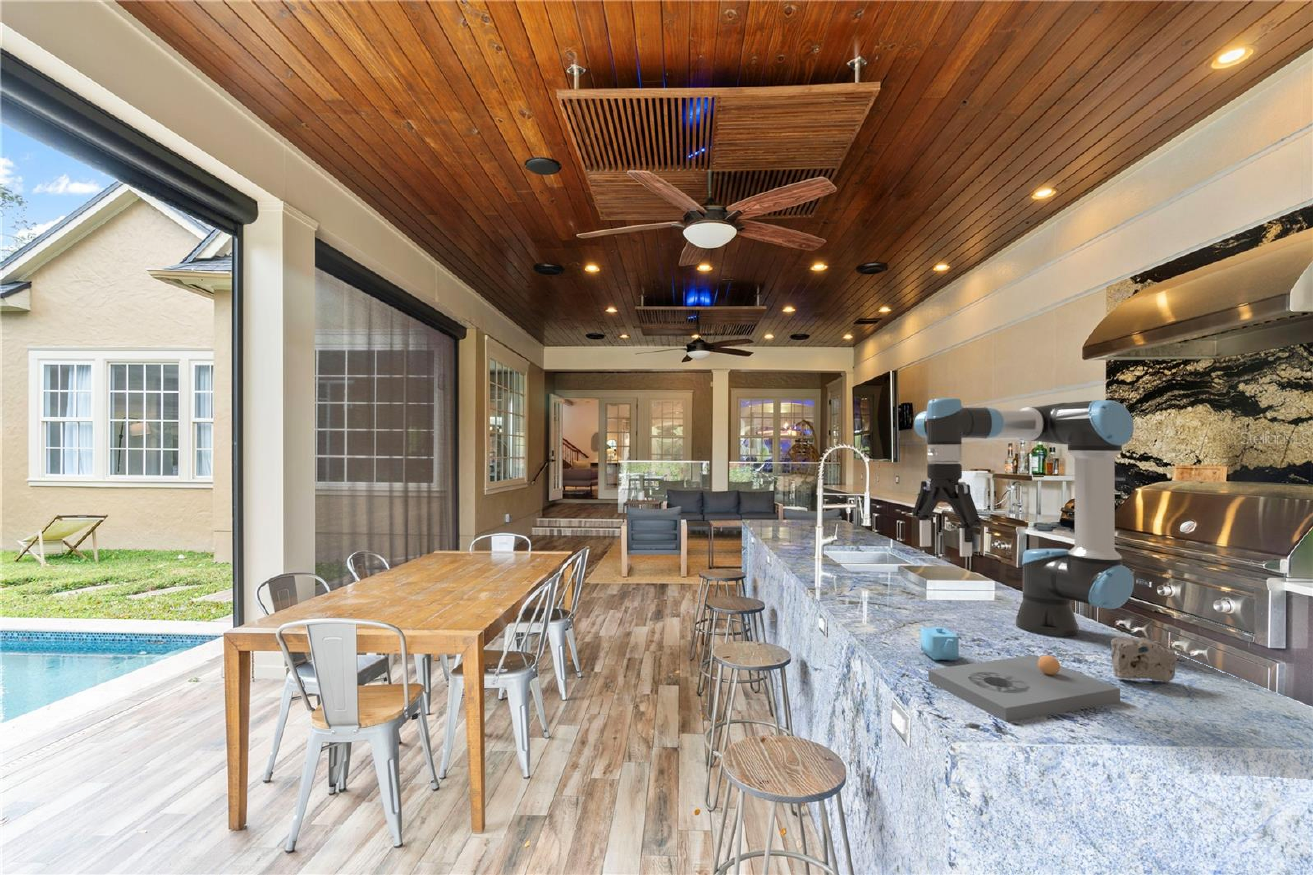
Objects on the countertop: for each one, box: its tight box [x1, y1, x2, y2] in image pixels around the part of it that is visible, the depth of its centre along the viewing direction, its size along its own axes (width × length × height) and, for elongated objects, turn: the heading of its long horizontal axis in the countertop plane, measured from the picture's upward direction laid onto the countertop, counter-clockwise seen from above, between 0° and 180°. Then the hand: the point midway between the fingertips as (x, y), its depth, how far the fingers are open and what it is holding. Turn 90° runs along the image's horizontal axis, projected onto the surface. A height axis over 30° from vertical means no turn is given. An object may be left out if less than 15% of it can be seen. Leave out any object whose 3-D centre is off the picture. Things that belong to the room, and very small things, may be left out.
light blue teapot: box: [920, 626, 960, 662], centre depth 147 cm, size 12×6×8 cm, turn 179°
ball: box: [1038, 654, 1061, 675], centre depth 130 cm, size 4×4×4 cm
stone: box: [1110, 636, 1178, 683], centre depth 134 cm, size 13×6×10 cm, turn 77°
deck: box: [927, 654, 1121, 723], centre depth 128 cm, size 30×20×3 cm, turn 107°
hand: (944, 551), depth 144 cm, fingers open, 13 cm apart
